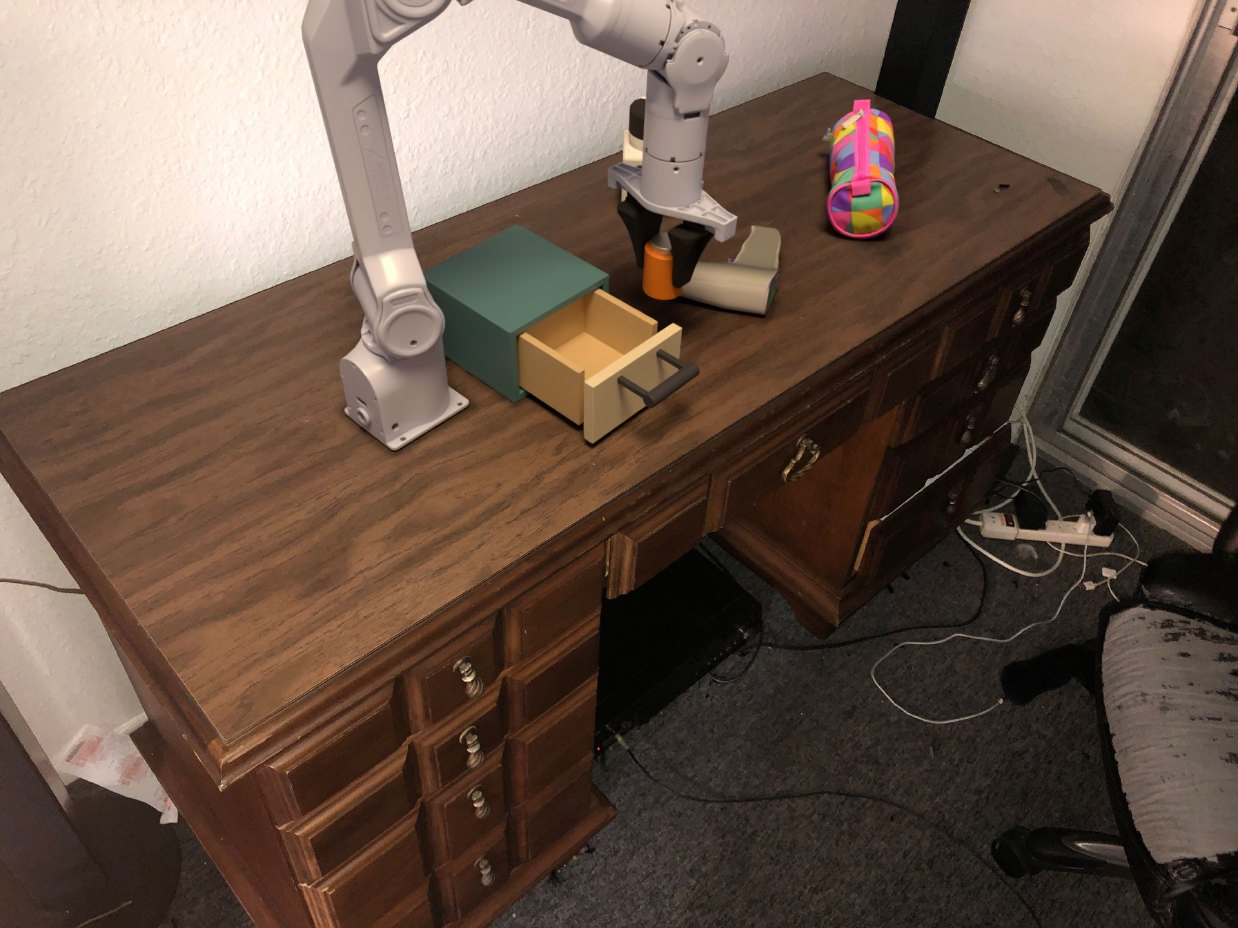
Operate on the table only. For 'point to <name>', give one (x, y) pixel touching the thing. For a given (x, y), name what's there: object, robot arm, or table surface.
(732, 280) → the infrared thermometer
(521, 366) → the drawer
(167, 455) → the table surface
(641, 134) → the container
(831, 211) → the pencil case
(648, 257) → the orange cylinder
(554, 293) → the cabinet
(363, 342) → the robot arm
